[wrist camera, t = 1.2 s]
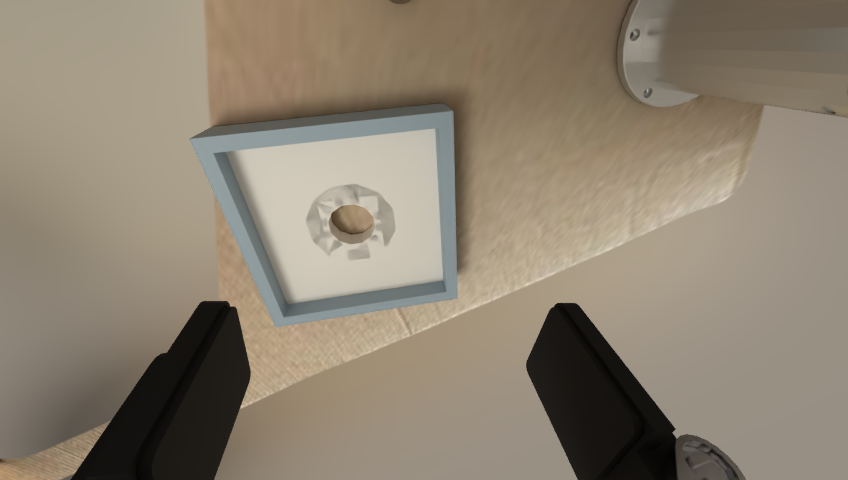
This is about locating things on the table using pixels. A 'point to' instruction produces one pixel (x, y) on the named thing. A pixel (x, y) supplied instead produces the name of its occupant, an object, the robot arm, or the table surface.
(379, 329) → the table surface
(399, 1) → the peg
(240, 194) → the box
